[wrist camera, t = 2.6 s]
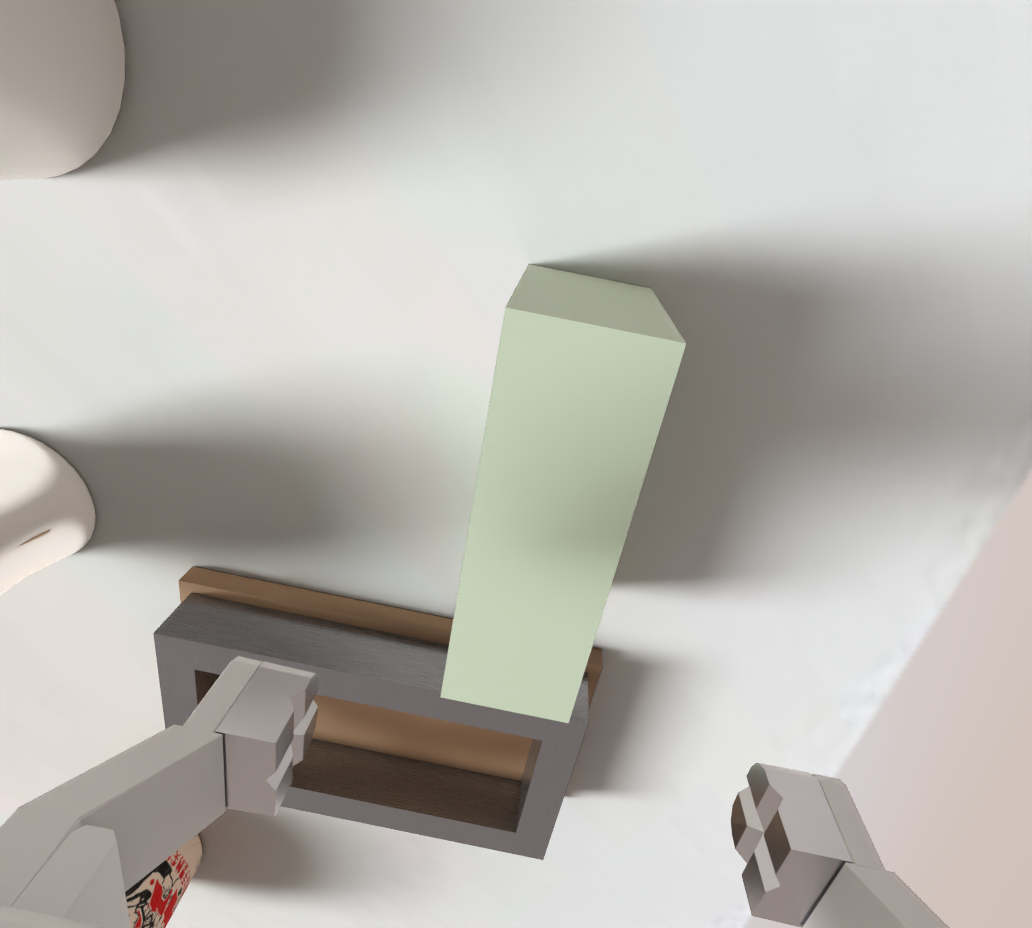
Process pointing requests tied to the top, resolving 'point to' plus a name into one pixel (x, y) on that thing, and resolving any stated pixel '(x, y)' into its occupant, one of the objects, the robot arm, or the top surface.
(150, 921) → the teacup with lid
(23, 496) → the white tumbler
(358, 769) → the locating frame
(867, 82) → the top surface
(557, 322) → the green bar
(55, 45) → the mug
